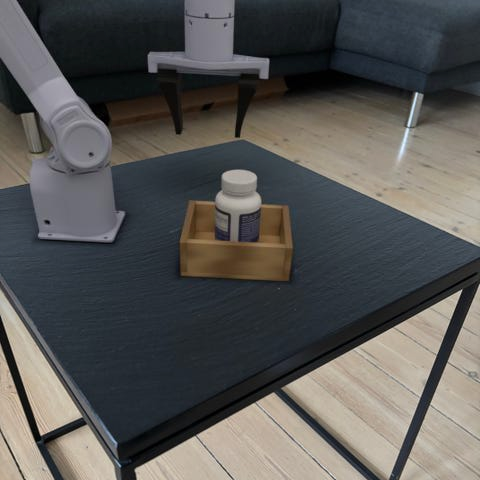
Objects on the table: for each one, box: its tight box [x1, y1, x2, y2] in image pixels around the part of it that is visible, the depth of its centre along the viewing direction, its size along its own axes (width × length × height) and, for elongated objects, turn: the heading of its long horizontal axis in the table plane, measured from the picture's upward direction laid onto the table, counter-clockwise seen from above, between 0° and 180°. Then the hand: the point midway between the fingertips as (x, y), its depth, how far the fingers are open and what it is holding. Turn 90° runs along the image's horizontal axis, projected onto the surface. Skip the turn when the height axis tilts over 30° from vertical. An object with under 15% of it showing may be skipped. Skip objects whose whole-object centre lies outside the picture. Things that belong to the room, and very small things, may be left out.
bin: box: [179, 199, 294, 282], centre depth 63 cm, size 13×11×4 cm
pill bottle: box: [214, 169, 262, 243], centre depth 61 cm, size 5×5×10 cm
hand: (208, 133), depth 68 cm, fingers open, 7 cm apart
